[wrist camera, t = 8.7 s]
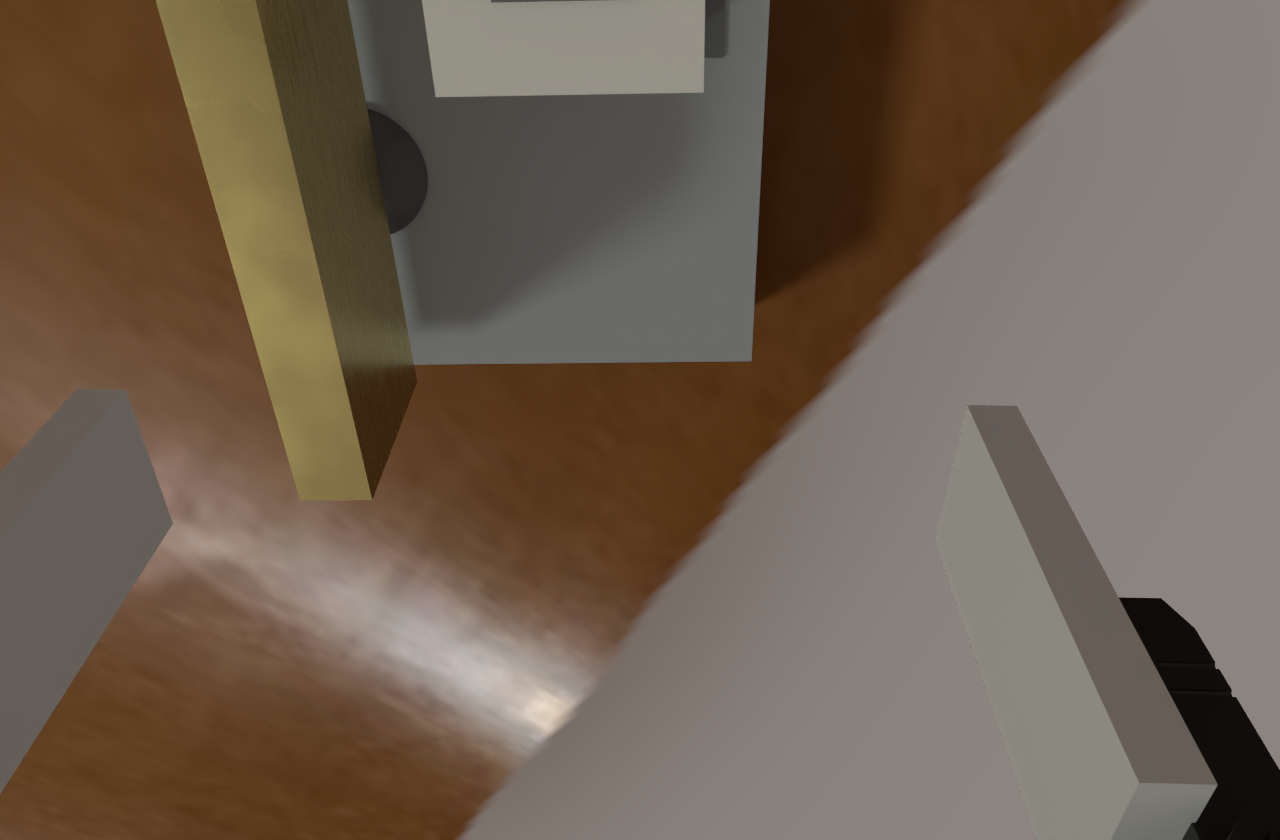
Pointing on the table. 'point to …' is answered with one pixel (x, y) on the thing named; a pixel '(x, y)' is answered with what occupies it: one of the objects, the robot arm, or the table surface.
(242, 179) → the yellow rectangular block
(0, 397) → the table surface
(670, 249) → the housing
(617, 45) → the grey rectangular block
